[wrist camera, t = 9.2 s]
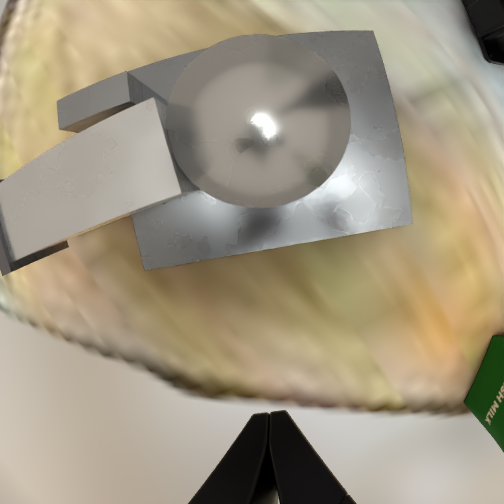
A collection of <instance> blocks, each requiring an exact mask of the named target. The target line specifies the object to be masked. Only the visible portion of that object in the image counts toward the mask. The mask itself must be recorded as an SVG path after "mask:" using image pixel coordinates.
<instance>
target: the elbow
mask: <svg viewBox="0 0 504 504" xmlns="http://www.w3.org/2000/svg"><path fill="white" fill-rule="evenodd" d="M350 130H351V113H350V106H349V102H348V98H347V95H346V92H345V90H344V87H343V85H342V83H341V81H340V80H339V78H338V76H337V75H336V73H335V72H334V71H333V69H332V68H331V67H330V66H329V65H328V64H327V63H326V62H325V61H324V60H323V59H322V58H321V57H320V56H319V55H317V54H316V53H315V52H313V51H312V50H311V49H309V48H307V47H305V46H304V45H302V44H300V43H297V42H295V41H292V40H290V39H286V38H283V37H279V36H273V35H263V34H253V35H243V36H238V37H234V38H230V39H227V40H224V41H222V42H219V43H217V44H215V45H213V46H211V47H209V48H208V49H206V50H205V51H203V52H202V53H200V54H199V55H198V56H197V57H196V58H195V59H193V60H192V61H191V62H190V63H189V65H188V66H187V67H186V68H185V69H184V70H183V72H182V73H181V75H180V76H179V78H178V79H177V81H176V83H175V85H174V87H173V89H172V92H171V95H170V98H169V101H168V106H166V105H164V104H163V103H161V102H160V101H158V100H157V99H156V98H154V97H153V98H151V99H148V100H146V101H144V102H141V103H139V104H137V105H135V106H132V107H130V108H128V109H126V110H124V111H121V112H119V113H117V114H115V115H113V116H111V117H109V118H107V119H105V120H103V121H101V122H99V123H97V124H95V125H93V126H91V127H89V128H87V129H85V130H83V131H82V132H80V133H78V134H76V135H74V136H73V137H71V138H69V139H67V140H65V141H64V142H62V143H60V144H59V145H57V146H55V147H54V148H52V149H50V150H49V151H47V152H45V153H44V154H42V155H40V156H39V157H37V158H36V159H34V160H33V161H31V162H30V163H28V164H27V165H25V166H24V167H22V168H21V169H19V170H18V171H16V172H15V173H13V174H12V175H10V176H9V177H8V178H6V179H3V180H0V270H1V273H2V276H4V275H6V274H8V273H10V272H12V271H15V270H17V269H19V268H21V267H24V266H26V265H28V264H30V263H33V262H35V261H37V260H39V259H42V258H44V257H46V256H49V255H51V254H53V253H56V252H58V251H60V250H63V249H65V248H68V247H69V246H68V243H67V240H69V239H71V238H74V237H76V236H78V235H81V234H83V233H86V232H88V231H91V230H93V229H96V228H98V227H101V226H103V225H106V224H108V223H111V222H113V221H116V220H119V219H121V218H124V217H126V216H129V215H132V214H134V213H137V212H140V211H143V210H145V209H148V208H151V207H154V206H156V205H159V204H162V203H165V202H168V201H171V200H173V199H176V198H179V197H182V196H185V195H188V194H191V193H194V192H197V191H200V190H202V191H204V192H206V193H207V194H209V195H210V196H212V197H214V198H216V199H218V200H221V201H223V202H225V203H229V204H232V205H235V206H241V207H247V208H270V207H277V206H281V205H286V204H289V203H291V202H294V201H297V200H299V199H301V198H303V197H305V196H307V195H309V194H310V193H312V192H313V191H315V190H316V189H317V188H319V187H320V186H321V185H322V184H323V183H324V182H325V181H327V179H328V178H329V177H330V176H331V175H332V174H333V172H334V171H335V170H336V168H337V167H338V165H339V163H340V162H341V160H342V158H343V156H344V153H345V151H346V148H347V145H348V142H349V137H350Z"/></svg>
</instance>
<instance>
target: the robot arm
mask: <svg viewBox="0 0 504 504" xmlns="http://www.w3.org/2000/svg"><path fill="white" fill-rule="evenodd" d="M463 3H464V5H465V7H466V9H467V11H468V14H469V16H470V18H471V21H472V23H473V26H474V28H475V31H476V33H477V36H478V39H479V41H480V44H481V47H482V50H483V53H484V56H485V58H486V59H487V61H489V62H490V63H495V64H500V65H504V0H463ZM490 56H491V57H490ZM278 497H279V502H280V504H356V502H355V501H354V500H353V499H352V497H351V496H350V495H347V492H346V490H345V489H344V488H343V486H342V485H341V484H340V483H339V481H338V480H337V479H336V477H335V476H334V475H333V473H332V472H331V471H330V470H329V468H328V467H327V466H326V464H325V463H324V462H323V460H322V459H321V458H320V456H319V455H318V454H317V452H316V451H315V450H314V448H313V447H312V446H311V444H310V443H309V442H308V440H307V439H306V437H305V436H304V435H303V433H302V432H301V430H300V429H299V428H298V426H297V425H296V423H295V422H294V421H293V419H292V418H291V416H290V415H289V414H288V412H287V411H286V410H281V411H274V412H271V413H270V414H269V413H267V412H266V413H257V414H253V415H252V416H251V418H250V420H249V421H248V422H247V424H246V425H245V427H244V428H243V430H242V431H241V433H240V434H239V435H238V437H237V438H236V440H235V441H234V443H233V444H232V446H231V447H230V448H229V450H228V451H227V453H226V454H225V455H224V457H223V458H222V460H221V461H220V462H219V464H218V465H217V466H216V468H215V469H214V471H213V472H212V473H211V474H210V476H209V477H208V479H207V480H206V481H205V483H204V484H203V485H202V486H201V488H200V489H199V490H198V492H197V493H196V494H195V496H194V497H193V498H192V499H191V501H190V502H189V503H188V504H278Z"/></svg>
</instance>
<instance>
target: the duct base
mask: <svg viewBox="0 0 504 504" xmlns="http://www.w3.org/2000/svg"><path fill="white" fill-rule="evenodd" d="M279 37H283V38H286V39H290V40H292V41H295V42H297V43H300V44H302V45H304V46H305V47H307V48H309V49H311V50H312V51H313V52H315V53H316V54H317V55H319V56H320V57H321V58H322V59H323V60H324V61H325V62H326V63H327V64H328V65H329V66H330V67H331V68H332V69H333V71H334V72H335V73H336V75H337V76H338V78H339V80H340V81H341V83H342V85H343V87H344V90H345V92H346V95H347V98H348V102H349V106H350V113H351V130H350V137H349V142H348V145H347V148H346V151H345V153H344V156H343V158H342V160H341V162H340V163H339V165H338V167H337V168H336V170H335V171H334V172H333V174H332V175H331V176H330V177H329V178H328V179H327V181H325V182H324V183H323V184H322V185H321V186H320V187H319V188H317V189H316V190H315V191H313V192H312V193H310V194H309V195H307V196H305V197H303V198H301V199H299V200H297V201H294V202H291V203H289V204H286V205H281V206H277V207H270V208H247V207H241V206H235V205H232V204H229V203H225V202H223V201H221V200H218V199H216V198H214V197H212V196H210V195H209V194H207V193H206V192H204V191H202V190H200V191H197V192H194V193H191V194H188V195H185V196H182V197H179V198H176V199H173V200H171V201H168V202H165V203H162V204H159V205H156V206H154V207H151V208H148V209H145V210H143V211H140V212H137V213H134V214H132V215H131V216H132V220H133V225H134V229H135V234H136V238H137V242H138V246H139V250H140V254H141V258H142V262H143V266H144V270H145V271H146V270H152V269H157V268H163V267H169V266H175V265H180V264H186V263H192V262H197V261H203V260H209V259H215V258H220V257H226V256H232V255H238V254H243V253H249V252H255V251H261V250H266V249H272V248H278V247H283V246H289V245H295V244H301V243H306V242H312V241H318V240H324V239H329V238H335V237H341V236H346V235H352V234H358V233H364V232H369V231H375V230H381V229H387V228H392V227H398V226H404V225H410V224H413V223H412V212H411V203H410V194H409V186H408V178H407V171H406V165H405V158H404V152H403V146H402V141H401V136H400V130H399V125H398V121H397V116H396V111H395V107H394V103H393V98H392V94H391V90H390V86H389V82H388V79H387V75H386V71H385V68H384V64H383V61H382V57H381V54H380V51H379V48H378V44H377V41H376V38H375V35H374V32H373V31H326V32H310V33H298V34H289V35H280V36H279ZM207 49H208V48H207ZM205 50H206V49H202V50H198V51H194V52H190V53H186V54H183V55H179V56H175V57H172V58H168V59H165V60H162V61H159V62H155V63H152V64H149V65H146V66H143V67H140V68H137V69H134V70H131V71H129V72H127V71H125V72H123V73H120V74H117V75H115V76H112V77H110V78H107V79H105V80H102V81H100V82H97V83H95V84H93V85H90V86H88V87H86V88H83V89H81V90H79V91H77V92H75V93H73V94H70V95H68V96H66V97H64V98H62V99H60V100H58V101H57V111H58V123H59V130H65V131H70V132H76V133H80V132H82V131H83V130H85V129H87V128H89V127H91V126H93V125H95V124H97V123H99V122H101V121H103V120H105V119H107V118H109V117H111V116H113V115H115V114H117V113H119V112H121V111H124V110H126V109H128V108H130V107H132V106H135V105H137V104H139V103H141V102H144V101H146V100H148V99H151V98H153V97H154V98H156V99H157V100H158V101H160V102H161V103H163V104H164V105H166V106H168V101H169V98H170V95H171V92H172V89H173V87H174V85H175V83H176V81H177V79H178V78H179V76H180V75H181V73H182V72H183V70H184V69H185V68H186V67H187V66H188V65H189V63H190V62H191V61H192V60H193V59H195V58H196V57H197V56H198V55H199V54H200V53H202V52H203V51H205Z"/></svg>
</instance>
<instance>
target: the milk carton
mask: <svg viewBox="0 0 504 504" xmlns="http://www.w3.org/2000/svg"><path fill="white" fill-rule="evenodd" d="M464 404H465V405H466V406H467V407H468V408H469V409H470V411H471V412H472V413H473V414H474V415H475V416H476V418H477V419H478V420H479V421H480V422H481V424H482V425H483V426H484V427H485V428H486V430H487V431H488V432H489V433H490V434H491V436H492V437H493V438H494V439H495V441H496V442H497V444H498V445H499V446H500V448H501V449H502V451H503V452H504V336H493V337H492V340H491V343H490V345H489V348H488V350H487V353H486V355H485V358H484V360H483V363H482V365H481V367H480V370H479V372H478V374H477V376H476V379H475V381H474V383H473V385H472V387H471V389H470V391H469V393H468V396H467V398H466V400H465V402H464Z"/></svg>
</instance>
